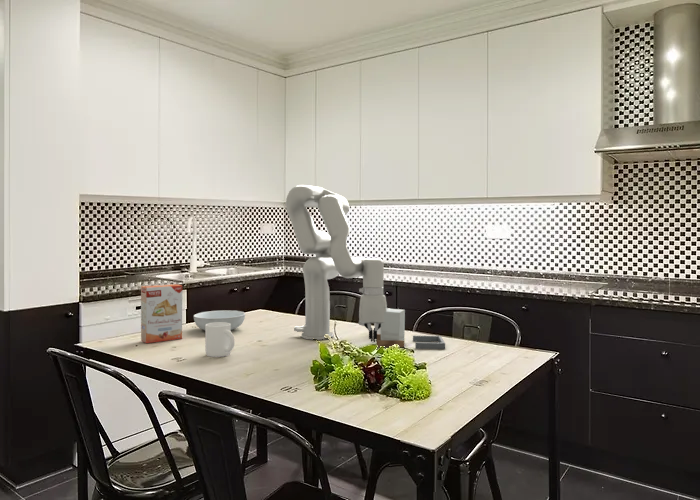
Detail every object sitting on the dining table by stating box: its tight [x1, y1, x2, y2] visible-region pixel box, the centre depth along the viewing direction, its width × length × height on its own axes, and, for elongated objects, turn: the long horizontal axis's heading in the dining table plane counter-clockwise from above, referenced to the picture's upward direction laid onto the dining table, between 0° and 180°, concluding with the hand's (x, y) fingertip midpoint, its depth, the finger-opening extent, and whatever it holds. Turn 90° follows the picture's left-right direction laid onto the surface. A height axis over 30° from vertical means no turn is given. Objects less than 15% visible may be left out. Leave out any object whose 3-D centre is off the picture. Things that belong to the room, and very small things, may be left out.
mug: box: [204, 322, 236, 358], centre depth 180 cm, size 12×8×10 cm
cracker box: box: [140, 283, 183, 344], centre depth 203 cm, size 14×6×21 cm, turn 131°
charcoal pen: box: [412, 335, 446, 350], centre depth 198 cm, size 10×13×2 cm
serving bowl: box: [193, 309, 246, 331], centre depth 224 cm, size 21×21×7 cm
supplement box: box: [381, 307, 406, 342], centre depth 199 cm, size 7×7×13 cm
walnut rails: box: [375, 334, 405, 348], centre depth 199 cm, size 10×12×2 cm
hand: (372, 340), depth 199 cm, fingers closed
